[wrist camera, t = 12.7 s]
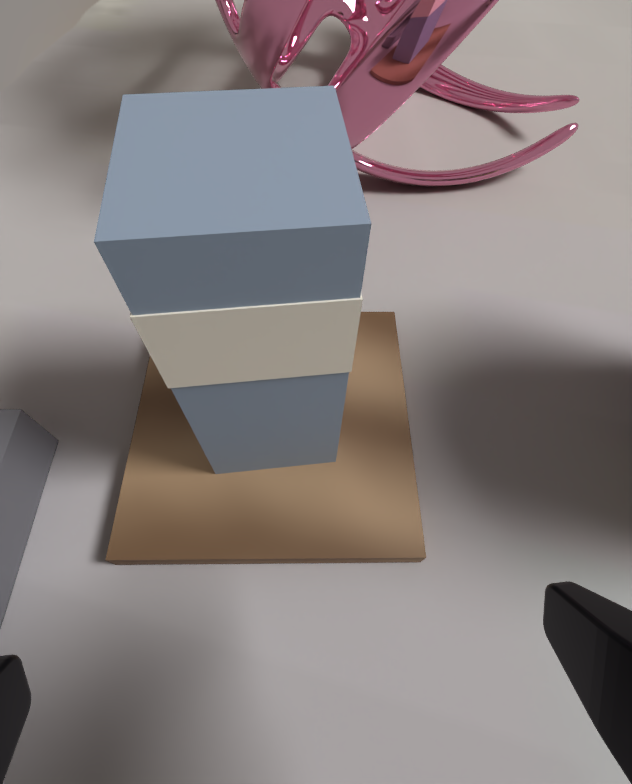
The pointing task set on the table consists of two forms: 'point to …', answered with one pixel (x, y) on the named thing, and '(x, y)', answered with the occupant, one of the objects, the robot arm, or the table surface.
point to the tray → (19, 489)
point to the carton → (242, 263)
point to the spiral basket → (387, 69)
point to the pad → (277, 482)
